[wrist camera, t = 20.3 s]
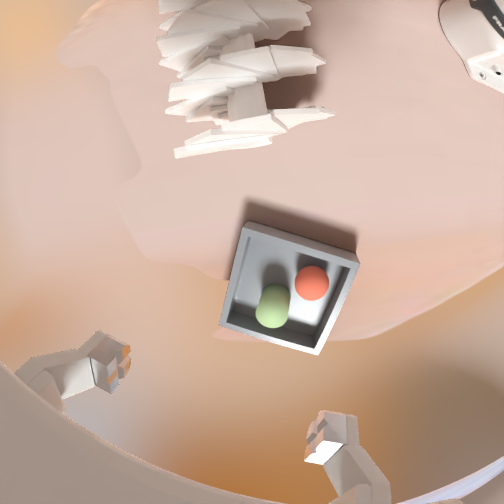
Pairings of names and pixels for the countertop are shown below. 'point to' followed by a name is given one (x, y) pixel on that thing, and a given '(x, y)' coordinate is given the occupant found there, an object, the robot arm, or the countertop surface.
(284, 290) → the cucumber chunk
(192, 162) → the countertop surface
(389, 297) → the countertop surface
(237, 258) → the bin
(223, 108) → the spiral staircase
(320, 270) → the tomato ball
